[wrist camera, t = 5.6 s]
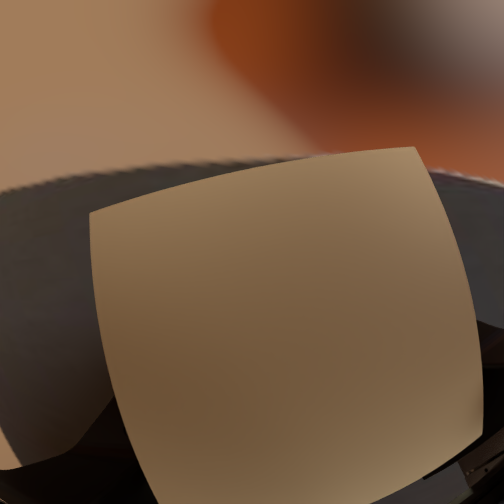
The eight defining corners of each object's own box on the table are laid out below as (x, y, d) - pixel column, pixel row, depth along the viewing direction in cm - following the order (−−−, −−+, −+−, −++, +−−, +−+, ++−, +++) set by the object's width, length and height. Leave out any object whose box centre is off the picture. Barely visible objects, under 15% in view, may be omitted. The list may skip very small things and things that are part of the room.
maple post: (312, 356, 15) (482, 434, 2) (235, 376, 14) (178, 537, 2) (293, 282, 16) (414, 146, 3) (217, 301, 16) (89, 212, 3)
